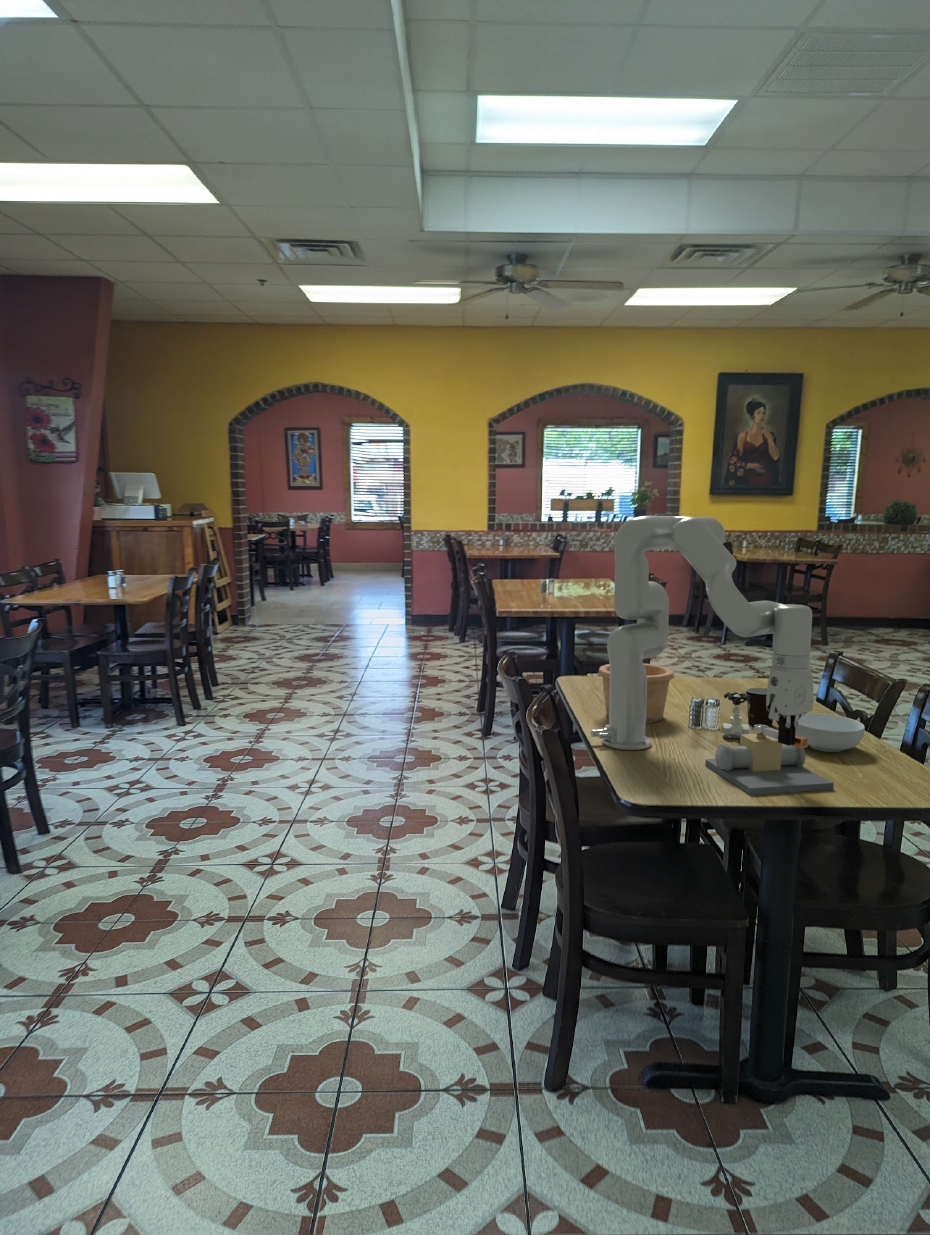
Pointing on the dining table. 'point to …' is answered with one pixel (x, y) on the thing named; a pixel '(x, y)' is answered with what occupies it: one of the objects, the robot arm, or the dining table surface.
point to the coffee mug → (757, 707)
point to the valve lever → (766, 730)
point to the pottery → (655, 689)
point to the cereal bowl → (830, 731)
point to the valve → (735, 717)
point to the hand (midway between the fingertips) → (786, 743)
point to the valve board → (773, 779)
